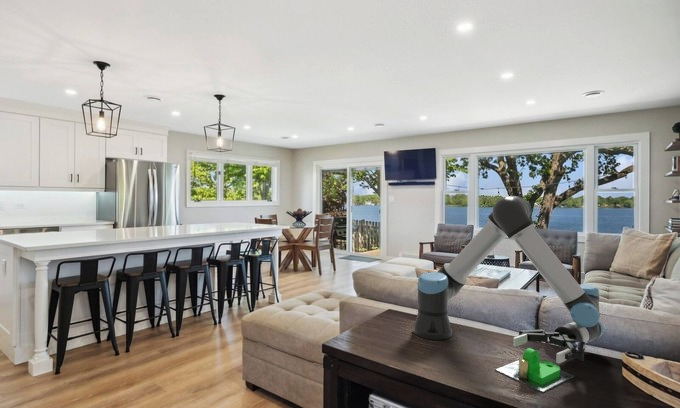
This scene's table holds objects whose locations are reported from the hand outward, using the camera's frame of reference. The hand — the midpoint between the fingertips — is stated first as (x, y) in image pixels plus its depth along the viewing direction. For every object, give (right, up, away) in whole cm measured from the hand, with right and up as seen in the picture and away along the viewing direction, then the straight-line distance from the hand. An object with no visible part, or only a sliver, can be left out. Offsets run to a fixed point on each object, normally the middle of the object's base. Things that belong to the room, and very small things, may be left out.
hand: (534, 350), depth 112 cm
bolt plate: (0, -8, +1) cm, 8 cm away
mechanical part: (+2, -8, -1) cm, 8 cm away
